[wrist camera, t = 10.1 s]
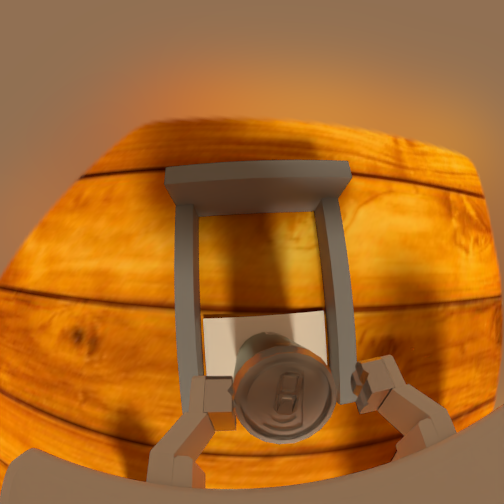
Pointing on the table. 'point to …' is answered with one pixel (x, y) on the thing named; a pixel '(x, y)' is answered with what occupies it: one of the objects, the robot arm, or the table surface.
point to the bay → (261, 201)
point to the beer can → (281, 389)
